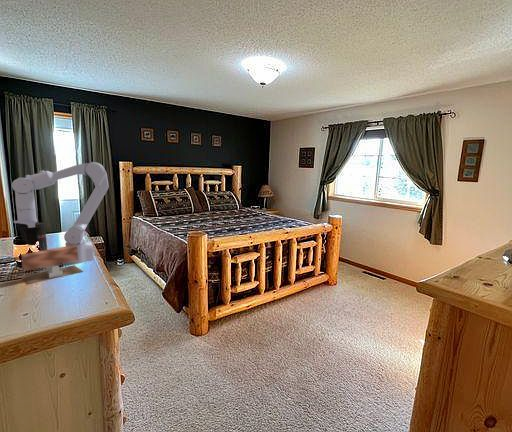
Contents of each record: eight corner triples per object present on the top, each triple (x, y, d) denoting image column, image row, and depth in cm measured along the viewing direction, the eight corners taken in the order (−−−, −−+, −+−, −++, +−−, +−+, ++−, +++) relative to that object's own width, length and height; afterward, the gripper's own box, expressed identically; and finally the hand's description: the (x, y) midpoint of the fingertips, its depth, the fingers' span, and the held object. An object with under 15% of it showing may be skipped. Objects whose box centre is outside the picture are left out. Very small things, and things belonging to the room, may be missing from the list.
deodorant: (50, 254, 130) (47, 223, 127) (37, 258, 124) (33, 225, 122) (42, 253, 131) (38, 222, 129) (28, 256, 126) (24, 224, 124)
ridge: (55, 269, 107) (54, 259, 106) (62, 275, 101) (61, 265, 100) (43, 272, 104) (42, 262, 103) (49, 278, 98) (48, 267, 97)
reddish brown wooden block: (73, 257, 109) (72, 245, 109) (78, 259, 107) (77, 246, 106) (22, 268, 96) (21, 254, 96) (26, 270, 94) (25, 256, 93)
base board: (74, 267, 112) (74, 265, 112) (83, 274, 105) (83, 271, 105) (20, 278, 100) (20, 276, 99) (27, 287, 93) (26, 284, 92)
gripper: (9, 208, 109) (13, 241, 111) (16, 211, 100) (20, 248, 102) (31, 206, 114) (35, 238, 116) (40, 210, 105) (43, 244, 107)
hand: (29, 243), depth 109 cm, fingers open, 7 cm apart
